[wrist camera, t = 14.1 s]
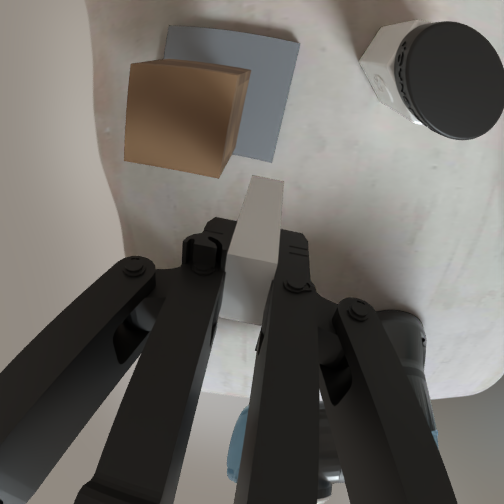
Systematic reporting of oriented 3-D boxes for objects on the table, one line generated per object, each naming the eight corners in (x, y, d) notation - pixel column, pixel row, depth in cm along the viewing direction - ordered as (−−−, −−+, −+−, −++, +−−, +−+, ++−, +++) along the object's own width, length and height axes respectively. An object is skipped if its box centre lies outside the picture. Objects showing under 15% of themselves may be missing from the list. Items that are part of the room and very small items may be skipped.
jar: (344, 42, 23) (378, 36, 14) (414, 14, 20) (478, 4, 10) (387, 122, 27) (435, 164, 18) (451, 94, 24) (520, 125, 14)
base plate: (272, 157, 31) (271, 162, 30) (160, 136, 31) (154, 140, 30) (299, 44, 24) (300, 43, 23) (174, 26, 24) (168, 25, 22)
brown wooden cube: (235, 147, 23) (218, 178, 18) (159, 133, 22) (123, 160, 18) (251, 69, 19) (237, 75, 14) (168, 58, 19) (130, 63, 14)
